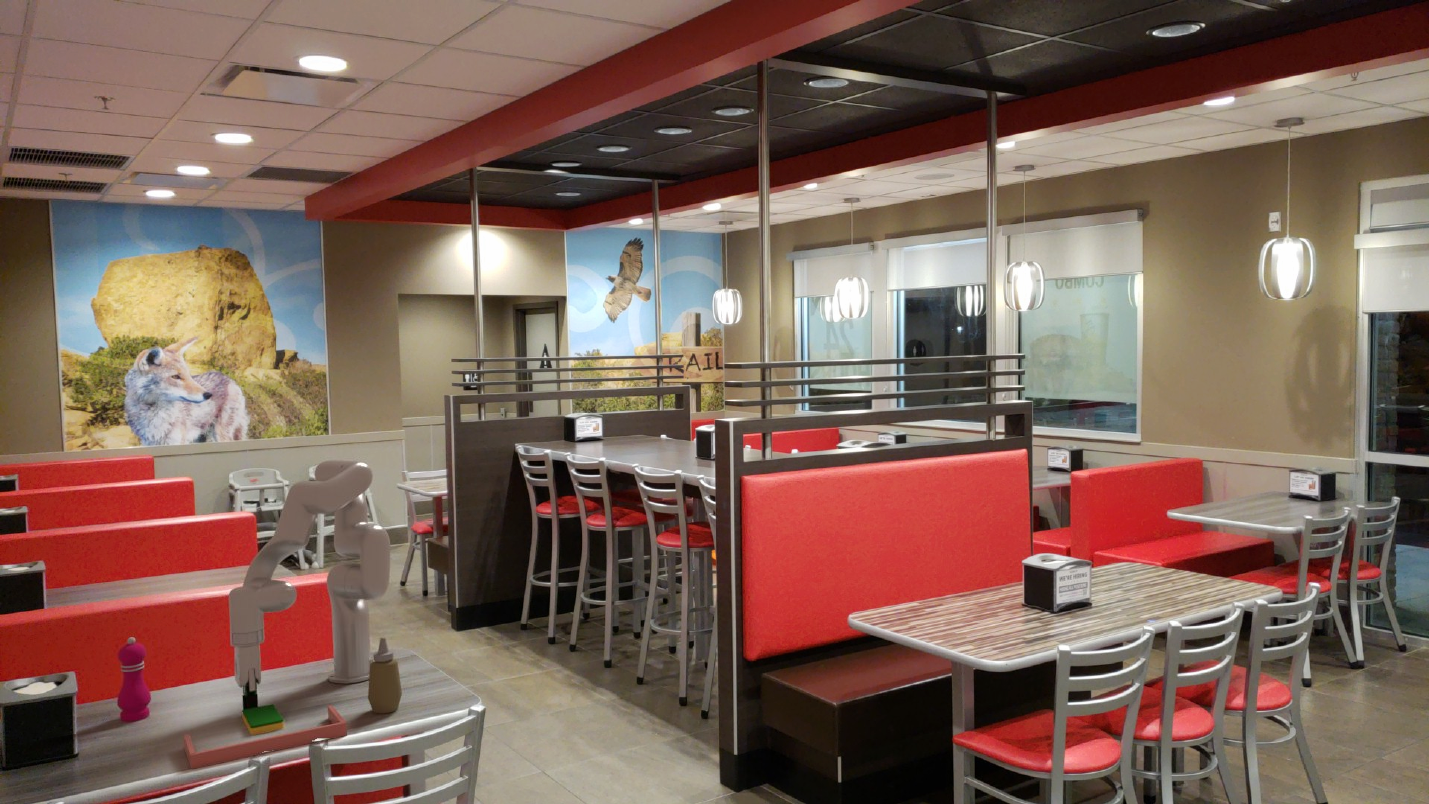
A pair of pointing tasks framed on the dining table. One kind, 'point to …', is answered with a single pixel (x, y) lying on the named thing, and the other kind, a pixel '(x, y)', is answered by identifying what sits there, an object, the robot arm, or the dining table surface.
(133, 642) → the pepper mill
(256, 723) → the dish sponge
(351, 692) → the dining table surface
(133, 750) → the dining table surface
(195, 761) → the pink u-shaped bracket
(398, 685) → the squeeze bottle
